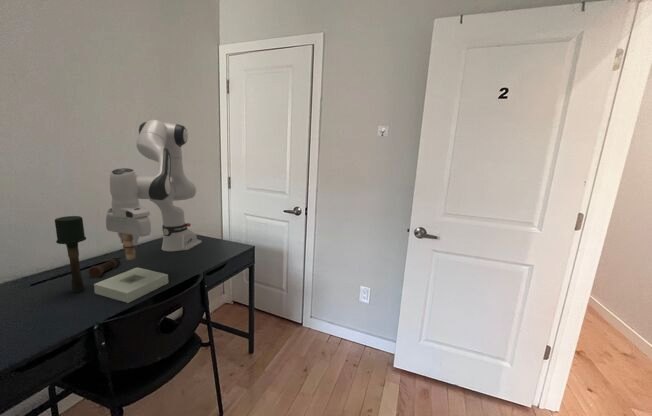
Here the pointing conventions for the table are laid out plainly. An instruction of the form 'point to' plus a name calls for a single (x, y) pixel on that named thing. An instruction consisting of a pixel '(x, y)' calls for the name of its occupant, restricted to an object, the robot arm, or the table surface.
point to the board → (131, 284)
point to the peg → (128, 246)
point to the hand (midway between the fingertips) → (129, 243)
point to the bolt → (103, 268)
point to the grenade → (72, 245)
